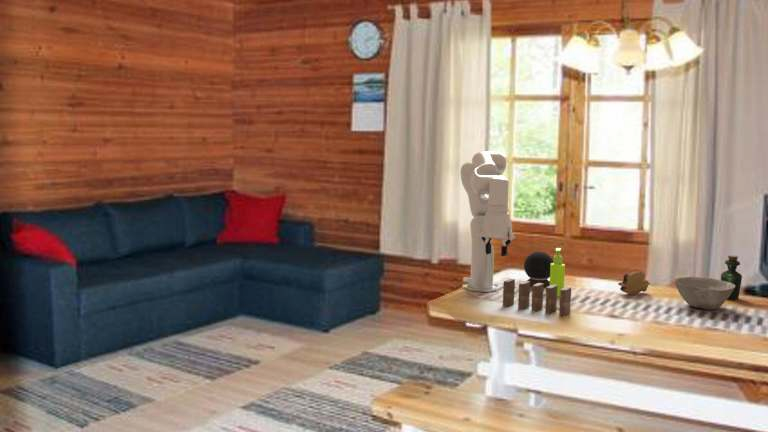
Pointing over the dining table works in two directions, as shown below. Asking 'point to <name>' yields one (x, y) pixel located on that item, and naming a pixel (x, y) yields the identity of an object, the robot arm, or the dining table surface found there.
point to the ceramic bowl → (704, 291)
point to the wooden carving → (634, 283)
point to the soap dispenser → (557, 272)
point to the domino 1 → (508, 292)
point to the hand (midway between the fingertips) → (496, 254)
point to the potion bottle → (732, 276)
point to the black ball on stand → (538, 268)
